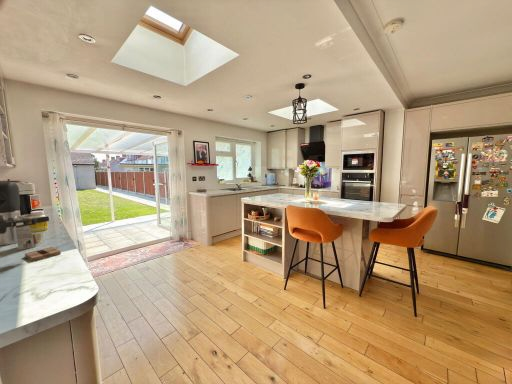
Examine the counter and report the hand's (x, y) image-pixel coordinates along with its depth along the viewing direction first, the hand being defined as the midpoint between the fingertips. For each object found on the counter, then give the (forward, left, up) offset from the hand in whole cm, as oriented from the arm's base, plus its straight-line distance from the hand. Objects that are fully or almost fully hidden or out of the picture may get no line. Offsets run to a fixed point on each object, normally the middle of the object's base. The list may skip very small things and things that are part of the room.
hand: (46, 218), depth 93 cm
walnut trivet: (0, -2, -17) cm, 17 cm away
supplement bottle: (0, -3, -6) cm, 7 cm away
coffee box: (-25, -1, -17) cm, 30 cm away
